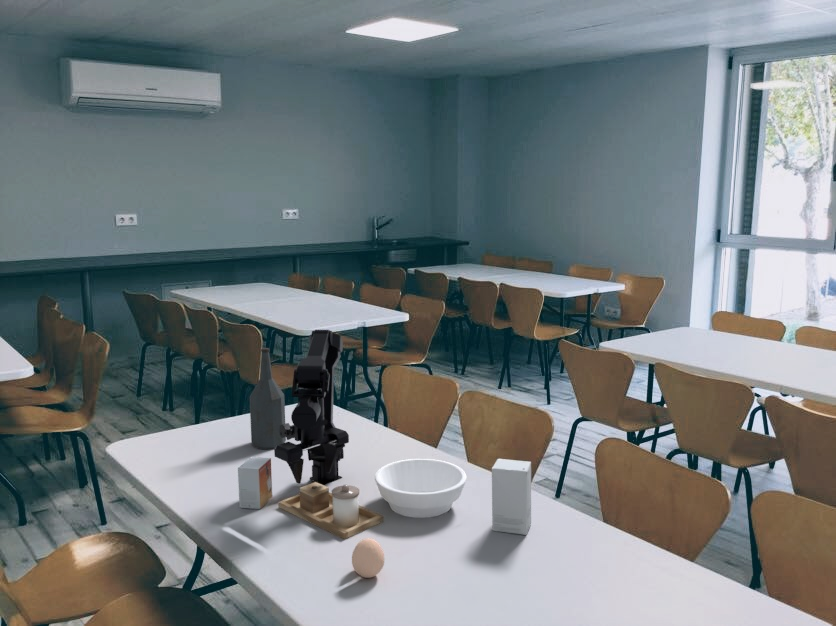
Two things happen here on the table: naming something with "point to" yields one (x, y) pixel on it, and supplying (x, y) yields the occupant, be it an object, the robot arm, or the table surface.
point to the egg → (368, 558)
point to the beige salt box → (314, 497)
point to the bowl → (420, 486)
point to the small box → (255, 482)
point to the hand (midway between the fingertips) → (313, 477)
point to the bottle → (266, 408)
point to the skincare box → (511, 496)
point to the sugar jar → (345, 506)
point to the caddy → (331, 517)
